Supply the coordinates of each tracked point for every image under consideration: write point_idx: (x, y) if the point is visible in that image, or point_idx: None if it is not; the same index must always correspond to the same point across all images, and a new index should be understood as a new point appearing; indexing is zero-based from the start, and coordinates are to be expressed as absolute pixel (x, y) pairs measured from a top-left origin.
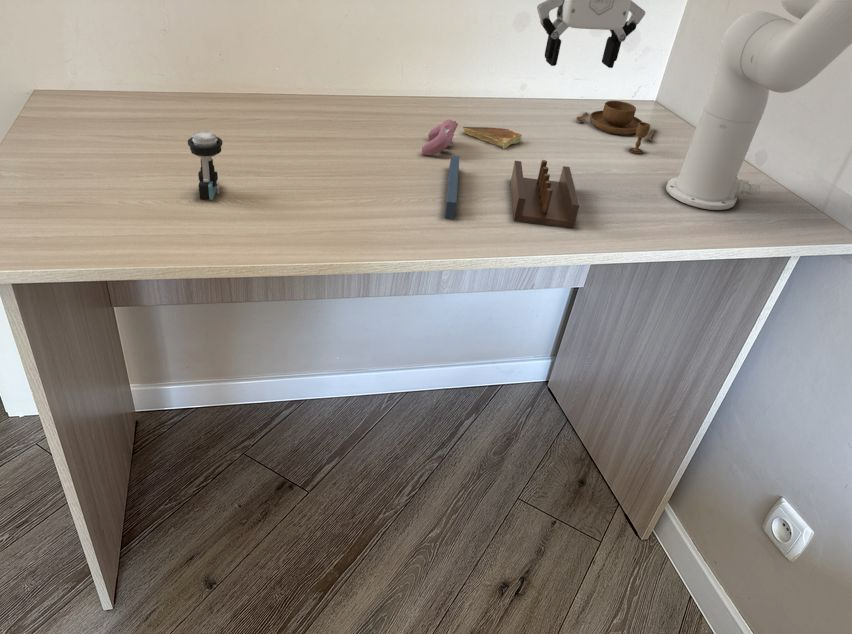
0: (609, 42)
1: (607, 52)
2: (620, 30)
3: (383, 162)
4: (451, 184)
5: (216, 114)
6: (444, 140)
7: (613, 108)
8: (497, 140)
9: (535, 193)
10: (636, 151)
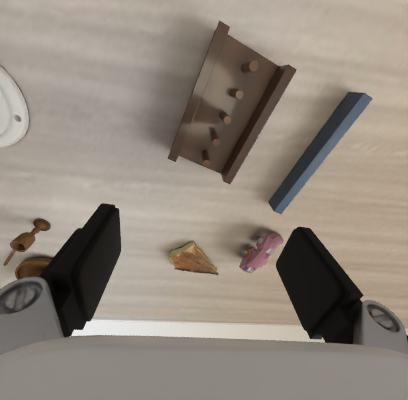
0: (91, 296)
1: (106, 261)
2: (15, 342)
3: (324, 225)
4: (332, 145)
5: (386, 302)
6: (272, 239)
7: None
8: (198, 250)
9: (224, 128)
10: (42, 222)
